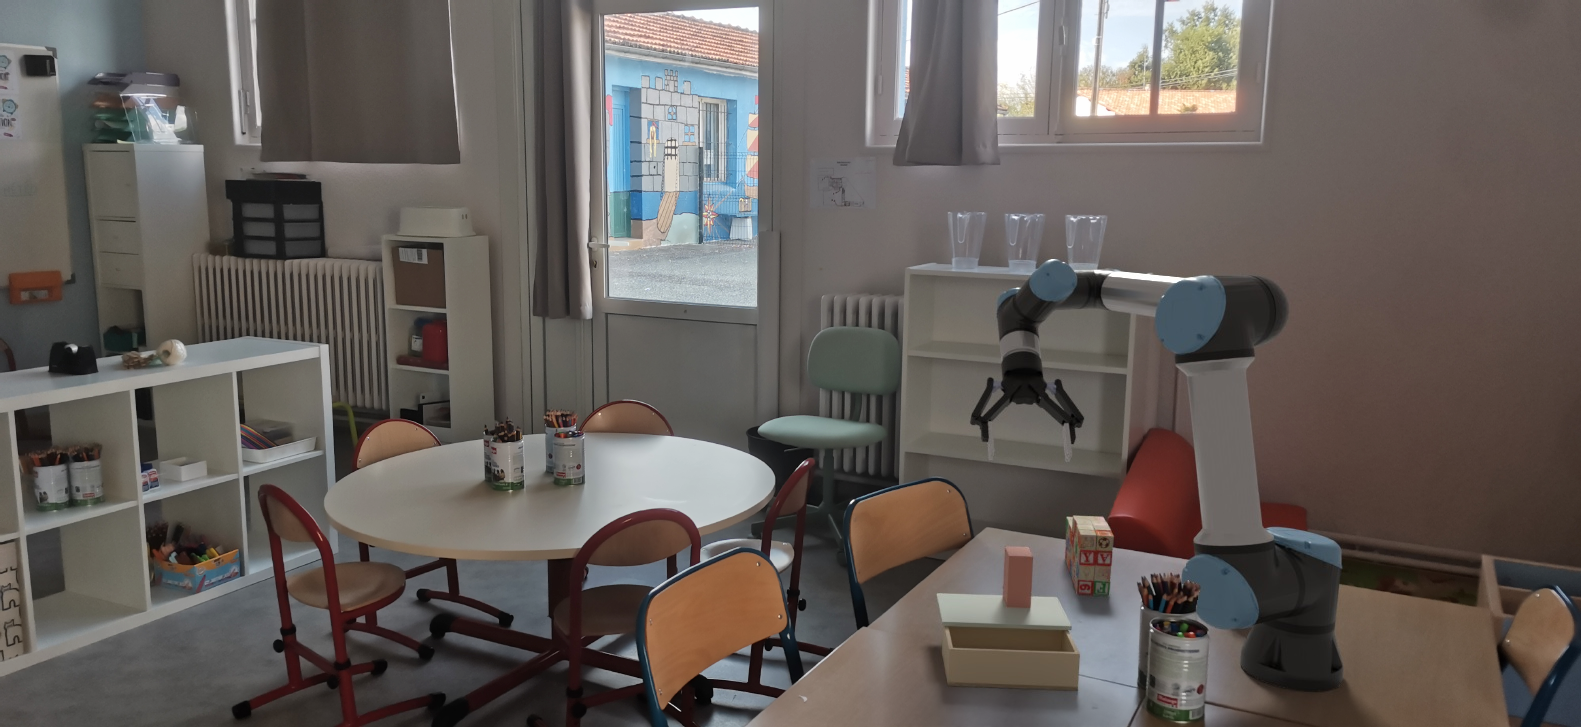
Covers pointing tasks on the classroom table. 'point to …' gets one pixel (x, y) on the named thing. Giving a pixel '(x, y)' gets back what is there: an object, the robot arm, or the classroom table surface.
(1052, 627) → the lid
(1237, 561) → the robot arm
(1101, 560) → the stack of blocks
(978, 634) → the carton
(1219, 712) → the classroom table surface
